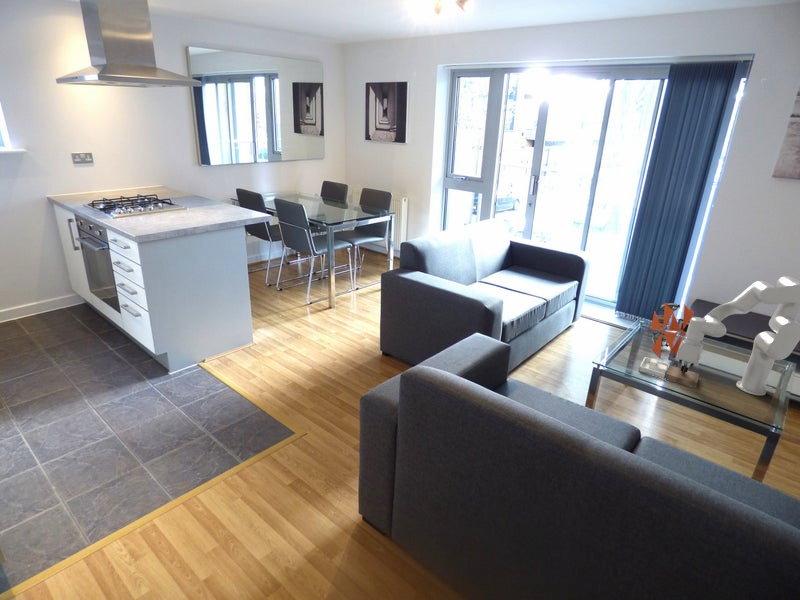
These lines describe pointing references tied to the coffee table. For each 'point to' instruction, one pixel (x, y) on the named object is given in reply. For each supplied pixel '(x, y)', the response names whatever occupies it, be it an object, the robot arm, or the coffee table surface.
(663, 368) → the cream rectangular block
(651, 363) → the tile far
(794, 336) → the robot arm
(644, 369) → the tray
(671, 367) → the brown wooden box
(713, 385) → the coffee table surface
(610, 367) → the coffee table surface
